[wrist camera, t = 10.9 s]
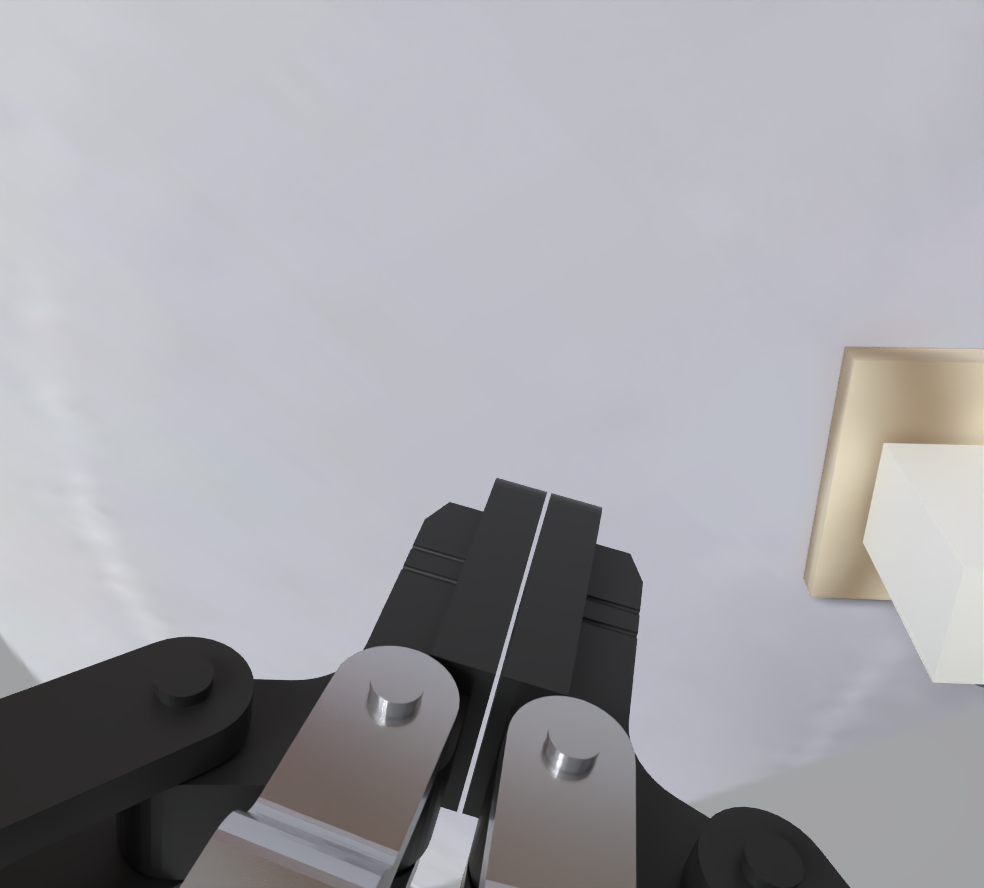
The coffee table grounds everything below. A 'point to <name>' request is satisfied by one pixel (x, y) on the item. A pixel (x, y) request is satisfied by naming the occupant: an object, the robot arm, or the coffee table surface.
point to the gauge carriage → (933, 552)
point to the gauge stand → (859, 441)
